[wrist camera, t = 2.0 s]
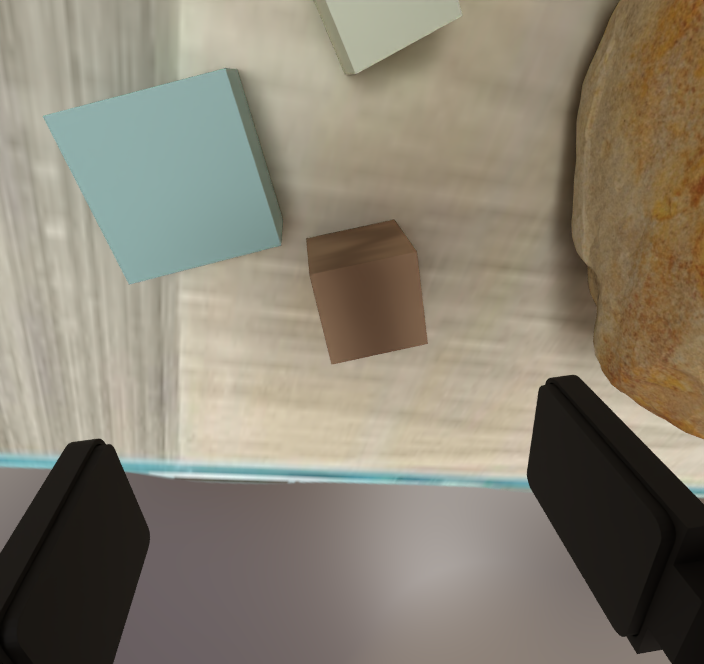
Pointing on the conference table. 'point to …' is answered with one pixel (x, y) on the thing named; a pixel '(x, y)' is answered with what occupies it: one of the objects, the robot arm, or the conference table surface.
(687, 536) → the robot arm
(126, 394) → the conference table surface
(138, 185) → the teal block
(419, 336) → the walnut cube
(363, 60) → the sage cube
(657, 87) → the rough brown rock
